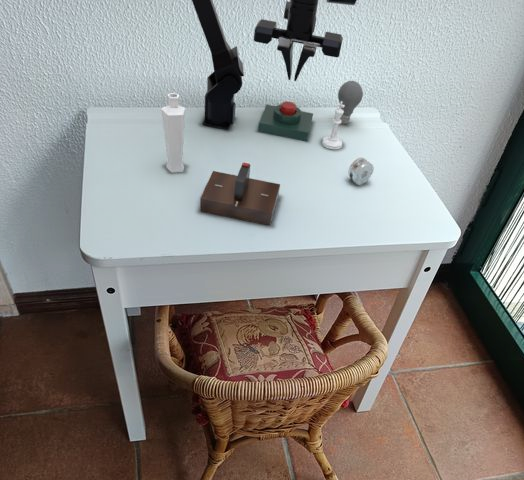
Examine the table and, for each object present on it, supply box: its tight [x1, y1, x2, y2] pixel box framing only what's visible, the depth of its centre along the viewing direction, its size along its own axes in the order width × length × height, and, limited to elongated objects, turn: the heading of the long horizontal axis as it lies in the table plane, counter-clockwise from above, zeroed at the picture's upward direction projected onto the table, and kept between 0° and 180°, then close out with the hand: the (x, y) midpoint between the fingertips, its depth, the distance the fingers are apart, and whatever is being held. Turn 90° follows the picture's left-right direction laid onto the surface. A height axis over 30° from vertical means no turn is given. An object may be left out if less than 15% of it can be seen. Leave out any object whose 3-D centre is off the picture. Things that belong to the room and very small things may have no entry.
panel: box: [199, 170, 281, 226], centre depth 97 cm, size 14×11×3 cm
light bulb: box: [337, 80, 364, 125], centre depth 121 cm, size 6×6×10 cm
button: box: [280, 101, 297, 115], centre depth 117 cm, size 4×4×2 cm
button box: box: [257, 103, 314, 142], centre depth 119 cm, size 12×10×4 cm
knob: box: [234, 161, 251, 201], centre depth 94 cm, size 6×2×4 cm, turn 169°
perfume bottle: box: [161, 92, 186, 174], centre depth 98 cm, size 5×4×15 cm
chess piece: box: [321, 102, 345, 150], centre depth 113 cm, size 5×5×10 cm
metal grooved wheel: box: [347, 157, 374, 186], centre depth 106 cm, size 5×3×5 cm, turn 123°
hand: (292, 79), depth 112 cm, fingers closed
